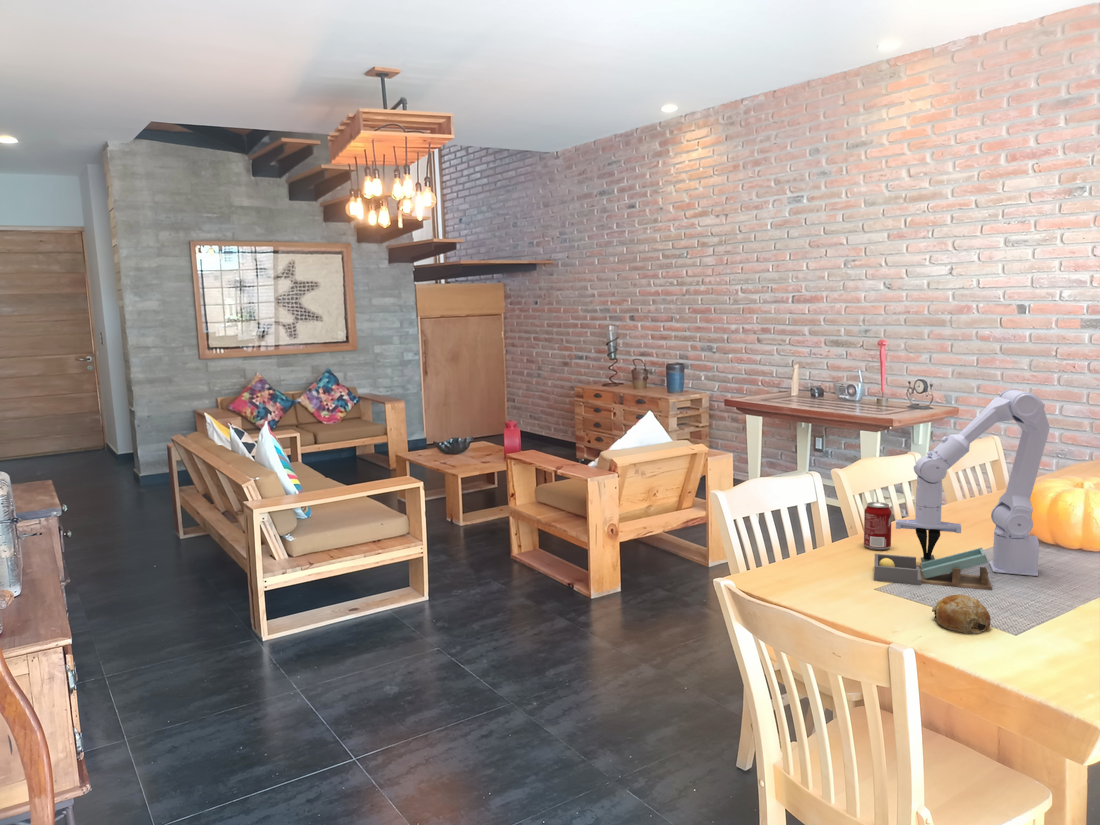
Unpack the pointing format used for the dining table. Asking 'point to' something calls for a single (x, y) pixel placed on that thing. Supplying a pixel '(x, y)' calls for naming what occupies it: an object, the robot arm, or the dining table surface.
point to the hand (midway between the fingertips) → (926, 558)
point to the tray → (897, 570)
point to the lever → (953, 562)
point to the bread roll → (962, 614)
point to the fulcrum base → (960, 579)
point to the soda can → (877, 526)
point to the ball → (886, 562)
